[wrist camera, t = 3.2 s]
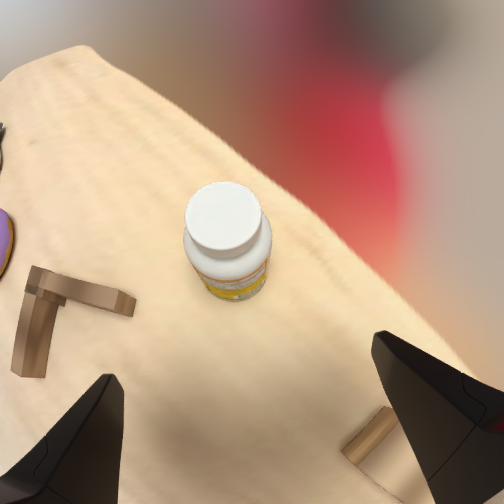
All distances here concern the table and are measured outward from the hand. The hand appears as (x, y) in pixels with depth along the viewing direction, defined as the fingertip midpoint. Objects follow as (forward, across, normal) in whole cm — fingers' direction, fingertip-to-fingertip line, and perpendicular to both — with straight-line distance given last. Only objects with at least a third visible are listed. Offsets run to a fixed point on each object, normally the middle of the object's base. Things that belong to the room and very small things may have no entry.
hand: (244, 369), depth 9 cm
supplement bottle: (+15, 0, +4) cm, 15 cm away
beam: (+1, -11, +18) cm, 21 cm away
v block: (+14, +16, +5) cm, 21 cm away
